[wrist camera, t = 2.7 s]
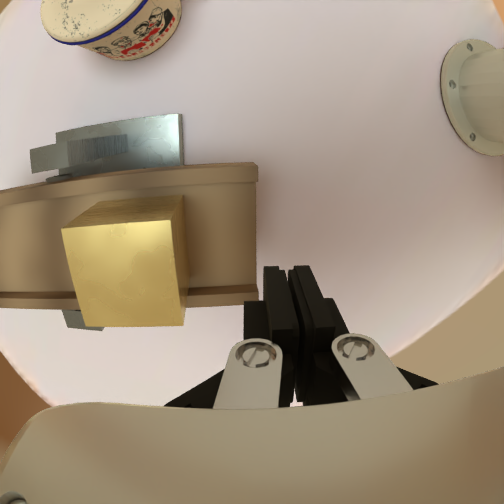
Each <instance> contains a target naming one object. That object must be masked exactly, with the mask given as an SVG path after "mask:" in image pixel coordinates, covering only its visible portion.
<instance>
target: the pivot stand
mask: <svg viewBox="0 0 504 504" xmlns="http://www.w3.org/2000/svg"><path fill="white" fill-rule="evenodd" d="M30 159H31V169H32V173H37V172H42V171H48V170H54V169H59V175H62V174H69V173H72V174H73V177H79V176H86V175H93V174H100V173H108V172H117V171H126V170H135V169H145V168H156V167H169V166H182V165H184V158H183V133H182V114H170V115H160V116H151V117H143V118H135V119H128V120H121V121H115V122H109V123H103V124H97V125H92V126H86V127H81V128H76V129H71V130H67V131H62V132H58V133H56V144H52V145H47V146H43V147H39V148H35V149H30ZM62 312H63V315H64V318H65V321H66V324H67V327H68V328H77V329H86V330H97V331H102V330H103V329H104V327H88V326H86V325H85V322H84V319H83V316H82V313H81V310H62Z"/></svg>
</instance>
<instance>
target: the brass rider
mask: <svg viewBox="0 0 504 504" xmlns="http://www.w3.org/2000/svg"><path fill="white" fill-rule="evenodd" d="M61 232H62V237H63V242H64V247H65V251H66V256H67V260H68V265H69V269H70V273H71V277H72V281H73V285H74V288H75V292H76V296H77V299H78V303H79V306H80V309H81V313H82V316H83V319H84V322H85V325H86V326H88V327H154V326H183V325H184V317H185V310H186V302H187V295H188V289H189V282H190V271H189V261H188V250H187V239H186V228H185V215H184V201H183V195H169V196H155V197H143V198H131V199H120V200H110V201H100V202H97V203H96V204H95V205H93V206H92V207H90V208H89V209H87V210H86V211H85V212H83V213H82V214H80V215H79V216H78V217H76V218H75V219H73V220H72V221H71V222H69V223H68V224H67V225H65V226H64V227H63V228H61Z"/></svg>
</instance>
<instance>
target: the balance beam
mask: <svg viewBox="0 0 504 504" xmlns="http://www.w3.org/2000/svg"><path fill="white" fill-rule="evenodd" d="M256 182H258V166H257V165H256V164H255V163H254V162H244V163H217V164H198V165H182V166H169V167H156V168H145V169H135V170H126V171H117V172H108V173H100V174H93V175H86V176H79V177H73V174H72V173H69V174H62V175H58V176H53V177H50V178H47V179H46V182H41V183H36V184H30V185H25V186H20V187H15V188H10V189H5V190H0V308H20V309H60V310H81V309H80V306H79V303H78V299H77V296H76V292H75V288H74V285H73V281H72V277H71V273H70V269H69V265H68V260H67V256H66V251H65V247H64V242H63V237H62V232H61V228H63V227H64V226H65V225H67V224H68V223H69V222H71V221H72V220H73V219H75V218H76V217H78V216H79V215H80V214H82V213H83V212H85V211H86V210H87V209H89V208H90V207H92V206H93V205H95V204H96V203H97V202H100V201H110V200H120V199H131V198H143V197H155V196H169V195H183V201H184V215H185V228H186V239H187V250H188V261H189V271H190V282H189V289H188V295H187V302H186V308H191V307H213V306H231V305H244V301H259V292H258V288H257V284H256Z"/></svg>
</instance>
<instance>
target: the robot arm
mask: <svg viewBox="0 0 504 504" xmlns="http://www.w3.org/2000/svg"><path fill="white" fill-rule="evenodd" d="M441 89H442V96H443V101H444V104H445V108H446V111H447V114H448V116H449V119H450V121H451V123H452V125H453V127H454V128H455V130H456V132H457V133H458V135H459V136H460V137H461V139H462V140H463V141H464V142H465V143H466V144H467V145H468V146H469V147H470V148H472V149H474V150H475V151H477V152H479V153H482V154H484V155H489V156H501V155H504V48H501V49H496V48H495V47H494V46H492V45H490V44H488V43H487V42H484V41H481V40H474V39H470V40H466V41H462V42H460V43H457V44H456V45H455V46H453V47H452V48H451V49H450V51H449V52H448V54H447V55H446V57H445V60H444V63H443V66H442V73H441ZM294 388H295V394H296V399H297V402H303V406H297V407H290V403H292V402H293V396H294ZM0 504H504V367H500V368H497V369H493V370H490V371H486V372H483V373H479V374H476V375H473V376H469V377H465V378H462V379H458V380H455V381H451V382H447V383H443V384H438V383H436V382H433V381H431V380H428V379H426V378H423V377H421V376H418V375H416V374H413V373H411V372H408V371H406V370H403V369H401V368H398V367H396V366H395V365H394V364H393V363H392V361H391V360H390V359H389V357H388V356H387V355H386V354H385V352H384V351H383V350H382V349H381V347H380V346H379V345H378V344H377V343H376V342H375V341H374V340H373V339H372V338H370V337H368V336H365V335H362V334H355V333H349V331H348V329H347V327H346V325H345V322H344V320H343V318H342V316H341V314H340V312H339V310H338V308H337V306H336V303H335V301H334V300H333V298H323V296H322V293H321V291H320V289H319V286H318V284H317V282H316V280H315V277H314V275H313V273H312V271H311V268H310V266H309V265H307V266H294V269H293V270H289V271H288V281H287V277H286V274H285V270H279V266H264V273H263V301H244V340H243V341H241V342H239V343H237V344H236V345H235V346H233V347H232V349H231V351H230V353H229V357H228V360H227V363H226V367H225V369H224V370H222V371H220V372H219V373H217V374H216V375H214V376H212V377H211V378H209V379H207V380H206V381H204V382H202V383H201V384H199V385H197V386H196V387H194V388H192V389H191V390H189V391H187V392H186V393H184V394H182V395H180V396H179V397H177V398H175V399H174V400H172V401H170V402H168V403H167V404H166V405H164V406H148V405H135V404H123V403H105V402H88V403H73V404H66V405H59V406H55V407H51V408H48V409H45V410H43V411H41V412H39V413H37V414H35V415H34V416H33V417H32V418H31V419H30V420H29V421H28V422H27V423H26V424H25V425H24V426H23V428H22V429H21V430H20V431H19V433H18V434H17V436H16V437H15V438H14V440H13V441H12V443H11V445H10V446H9V448H8V450H7V451H6V453H5V455H4V457H3V458H2V460H1V463H0Z"/></svg>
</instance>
